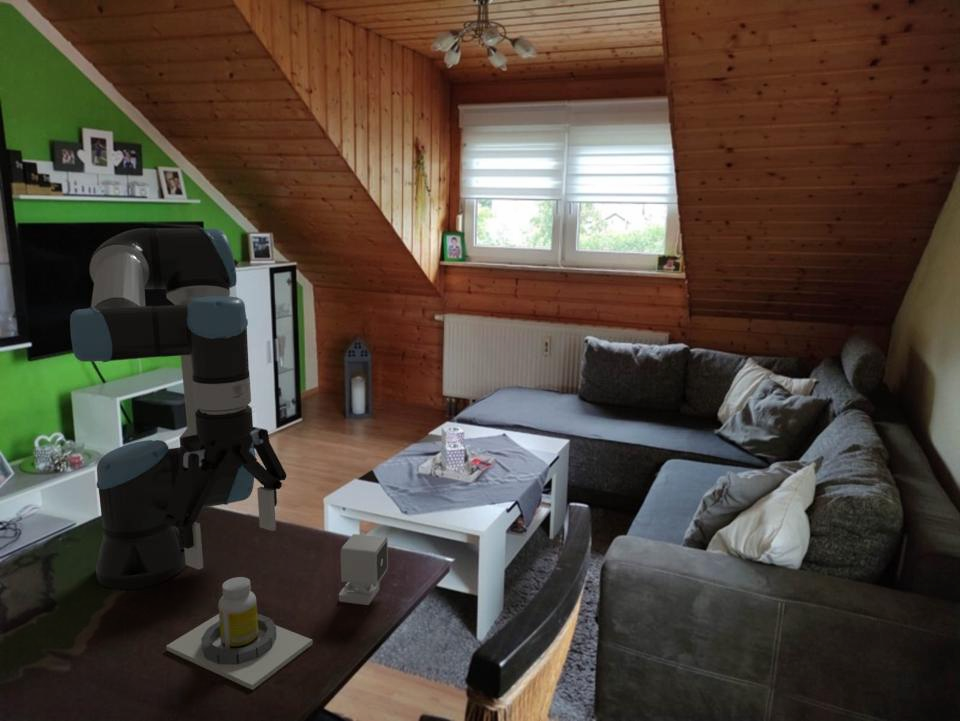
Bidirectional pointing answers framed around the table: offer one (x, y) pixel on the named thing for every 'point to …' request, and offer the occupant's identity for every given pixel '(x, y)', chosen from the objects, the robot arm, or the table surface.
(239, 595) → the supplement bottle
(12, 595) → the table surface
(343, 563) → the security camera
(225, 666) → the socket board
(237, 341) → the robot arm
